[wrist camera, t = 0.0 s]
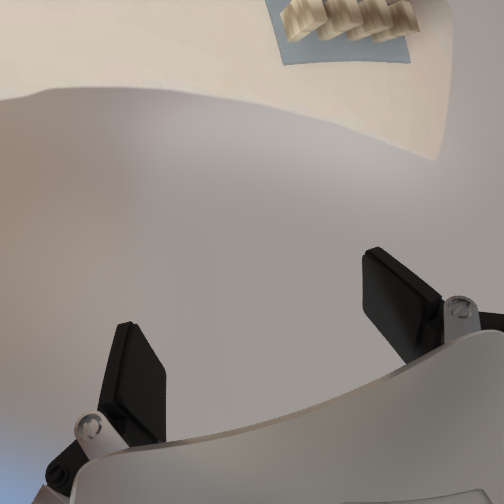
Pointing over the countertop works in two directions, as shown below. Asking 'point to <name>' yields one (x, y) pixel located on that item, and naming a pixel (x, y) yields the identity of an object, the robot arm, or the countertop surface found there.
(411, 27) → the domino
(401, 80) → the countertop surface
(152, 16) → the countertop surface
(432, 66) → the countertop surface
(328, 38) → the domino
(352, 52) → the runway mat
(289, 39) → the domino
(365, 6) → the domino
